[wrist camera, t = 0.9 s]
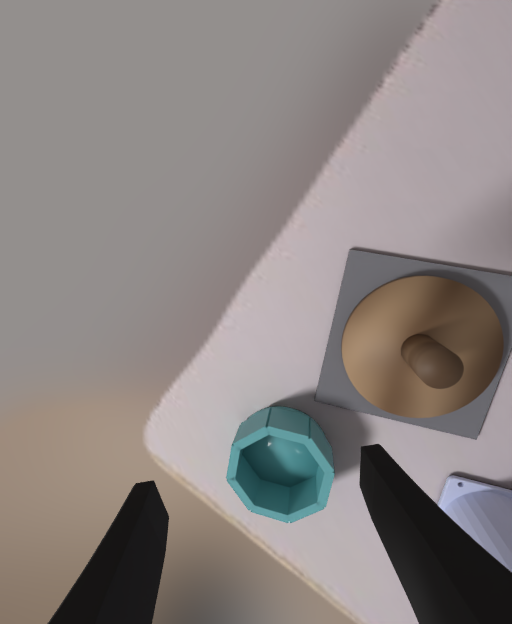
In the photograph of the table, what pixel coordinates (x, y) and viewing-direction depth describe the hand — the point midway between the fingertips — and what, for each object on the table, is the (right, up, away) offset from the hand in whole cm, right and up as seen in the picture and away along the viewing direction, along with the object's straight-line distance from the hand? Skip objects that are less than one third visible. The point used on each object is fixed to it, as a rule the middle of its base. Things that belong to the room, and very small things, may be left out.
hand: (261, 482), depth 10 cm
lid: (+13, +3, +14) cm, 20 cm away
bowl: (+2, -8, +19) cm, 21 cm away
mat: (+13, +3, +15) cm, 20 cm away
